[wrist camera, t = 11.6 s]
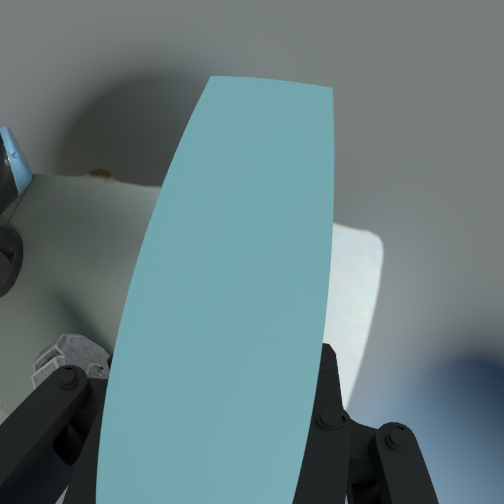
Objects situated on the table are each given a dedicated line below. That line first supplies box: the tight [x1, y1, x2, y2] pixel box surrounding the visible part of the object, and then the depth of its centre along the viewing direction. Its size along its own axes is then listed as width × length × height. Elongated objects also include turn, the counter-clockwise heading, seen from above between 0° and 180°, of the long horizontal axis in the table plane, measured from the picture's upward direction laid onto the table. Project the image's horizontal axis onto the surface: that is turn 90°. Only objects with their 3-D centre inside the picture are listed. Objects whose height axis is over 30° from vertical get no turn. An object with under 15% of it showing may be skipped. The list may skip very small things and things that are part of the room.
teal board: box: [96, 76, 334, 504], centre depth 12 cm, size 2×8×17 cm, turn 171°
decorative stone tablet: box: [31, 334, 110, 389], centre depth 26 cm, size 19×6×30 cm
